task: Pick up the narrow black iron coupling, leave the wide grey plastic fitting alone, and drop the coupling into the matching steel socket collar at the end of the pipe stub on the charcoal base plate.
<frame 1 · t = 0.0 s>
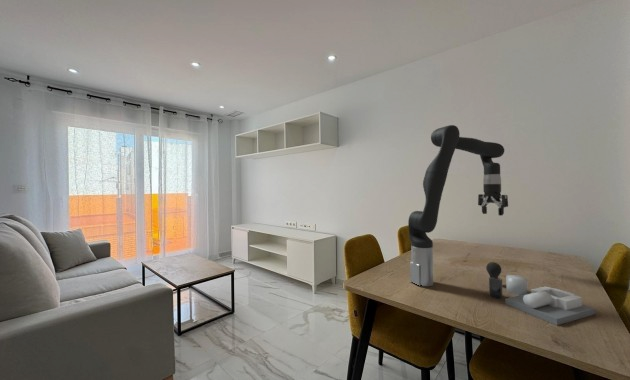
hand: (492, 214, 133), 29 cm above the table, fingers open, 8 cm apart
socket block: (548, 308, 92), on the table
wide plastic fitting: (516, 292, 107), on the table
iron coupling: (495, 296, 103), on the table
light bulb: (493, 284, 115), on the table
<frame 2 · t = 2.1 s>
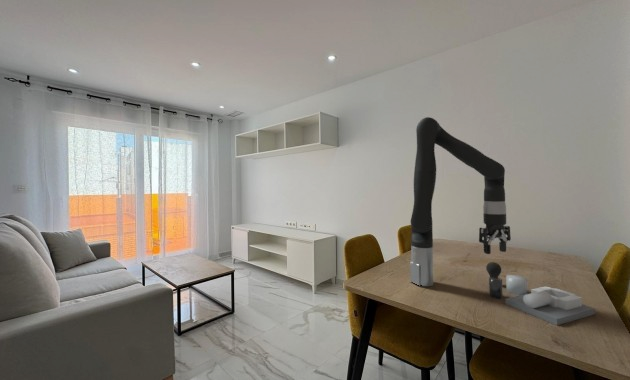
hand: (495, 252, 103), 18 cm above the table, fingers open, 8 cm apart
nothing on the table moved.
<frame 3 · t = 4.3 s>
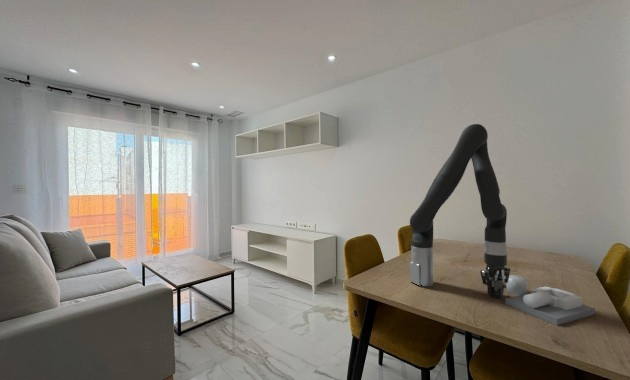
hand: (495, 294, 103), 1 cm above the table, fingers closed on iron coupling, 4 cm apart
iron coupling: (495, 296, 103), on the table, touching gripper
everything else where it was.
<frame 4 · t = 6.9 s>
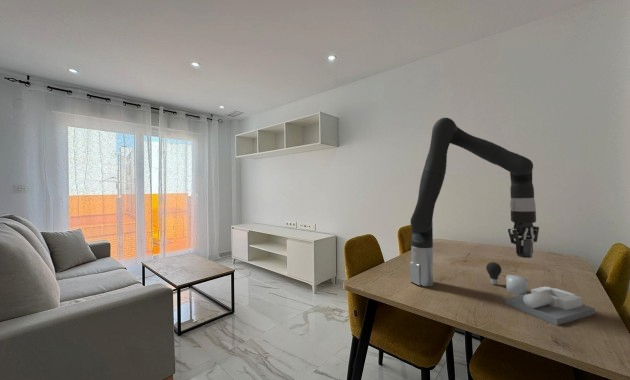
hand: (524, 254, 98), 18 cm above the table, fingers closed on iron coupling, 4 cm apart
iron coupling: (524, 256, 98), point 17 cm above the table, touching gripper
everything else where it was.
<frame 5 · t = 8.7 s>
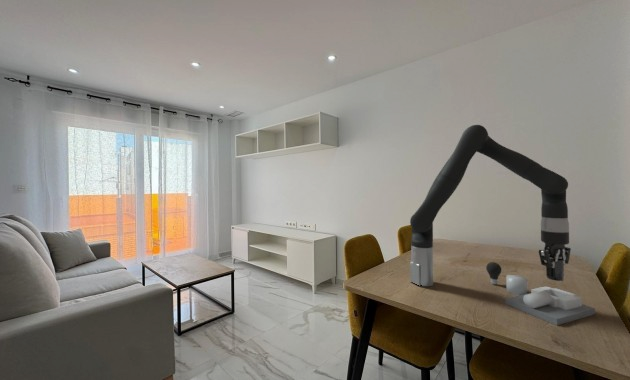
hand: (555, 276, 93), 11 cm above the table, fingers closed on iron coupling, 4 cm apart
iron coupling: (555, 278, 93), point 10 cm above the table, touching gripper
everything else where it was.
when the fingers open (6 cm above the table, at t = 10.0 s): iron coupling drops 3 cm, resting on socket block.
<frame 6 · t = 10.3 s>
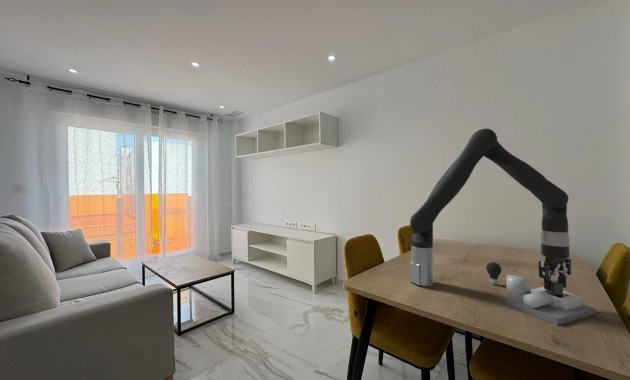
hand: (555, 288, 93), 7 cm above the table, fingers open, 7 cm apart
iron coupling: (554, 301, 93), point 2 cm above the table, touching socket block
everything else where it was.
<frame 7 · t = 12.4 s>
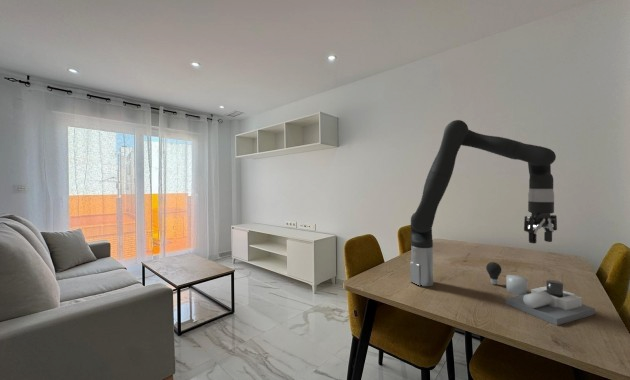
hand: (540, 242, 99), 22 cm above the table, fingers open, 8 cm apart
nothing on the table moved.
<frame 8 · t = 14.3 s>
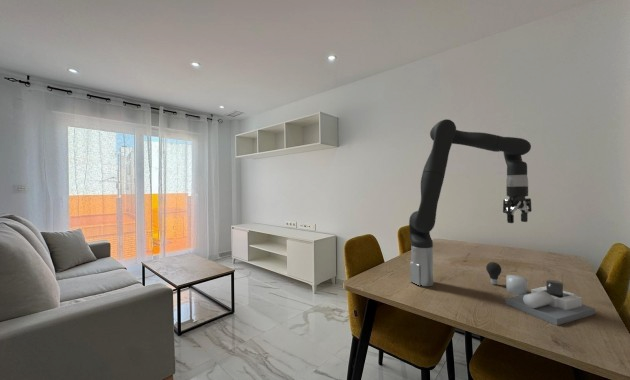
hand: (517, 222, 113), 28 cm above the table, fingers open, 8 cm apart
nothing on the table moved.
at the end: iron coupling 0.3 cm from the target spot on the socket block, point 2.0 cm above the socket block's base; iron coupling tilted 0°; the gripper is holding nothing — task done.
